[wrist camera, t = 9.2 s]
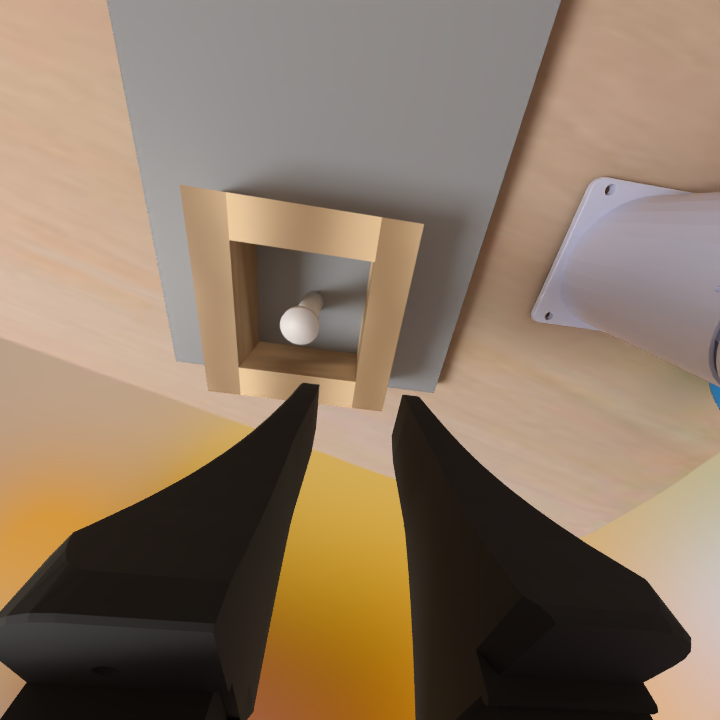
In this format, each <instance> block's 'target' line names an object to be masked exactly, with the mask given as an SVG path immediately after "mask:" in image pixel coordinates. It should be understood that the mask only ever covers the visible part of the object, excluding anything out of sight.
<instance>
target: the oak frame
mask: <svg viewBox="0 0 720 720" xmlns="http://www.w3.org/2000/svg"><path fill="white" fill-rule="evenodd" d="M180 190H181V198H182V205H183V212H184V219H185V227H186V234H187V241H188V248H189V255H190V263H191V270H192V277H193V284H194V292H195V299H196V306H197V313H198V320H199V328H200V335H201V342H202V349H203V357H204V364H205V371H206V378H207V386H208V391H213V392H221V393H230V394H238V395H247V396H255V397H264V398H272V399H281V400H287V399H288V398H289V397H290V396H291V395H292V393H293V392H294V391H295V390H296V389H297V388H298V386H299V385H300V384H302V383H310V384H319V385H320V387H319V398H318V404H324V405H332V406H341V407H349V408H358V409H366V410H375V411H382V409H383V404H384V400H385V396H386V391H387V387H388V382H389V378H390V373H391V369H392V365H393V360H394V356H395V351H396V347H397V342H398V338H399V333H400V329H401V325H402V320H403V316H404V311H405V307H406V302H407V298H408V294H409V289H410V285H411V280H412V276H413V271H414V267H415V263H416V258H417V254H418V249H419V245H420V240H421V236H422V232H423V227H424V224H420V223H414V222H408V221H402V220H396V219H389V218H383V217H377V216H371V215H365V214H359V213H352V212H346V211H340V210H334V209H328V208H321V207H315V206H309V205H303V204H297V203H290V202H284V201H278V200H272V199H266V198H260V197H253V196H247V195H241V194H235V193H229V192H222V191H216V190H210V189H204V188H198V187H191V186H185V185H180ZM257 244H258V245H265V246H271V247H278V248H285V249H291V250H298V251H304V252H311V253H318V254H324V255H331V256H338V257H344V258H351V259H357V260H364V261H371V264H370V270H369V277H368V283H367V290H366V297H365V303H364V310H363V316H362V323H361V329H360V336H359V342H358V349H357V354H354V353H346V352H338V351H331V350H323V349H315V348H308V347H300V346H292V345H284V344H277V343H269V342H261V341H260V334H259V301H258V268H257Z"/></svg>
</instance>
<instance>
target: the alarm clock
mask: <svg viewBox="0 0 720 720" xmlns="http://www.w3.org/2000/svg"><path fill="white" fill-rule="evenodd" d="M709 386H710V390H711V393H712V395H713V398H714V400H715V402H716V404H717V406H718V407H719V409H720V387H718V386H716V385H714V384H712V383H710V382H709Z"/></svg>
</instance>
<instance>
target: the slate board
mask: <svg viewBox="0 0 720 720" xmlns="http://www.w3.org/2000/svg"><path fill="white" fill-rule="evenodd" d="M560 2H561V0H107V4H108V9H109V14H110V19H111V25H112V30H113V35H114V40H115V45H116V51H117V56H118V61H119V66H120V71H121V77H122V82H123V87H124V92H125V97H126V103H127V108H128V113H129V118H130V123H131V129H132V134H133V139H134V144H135V149H136V155H137V160H138V165H139V170H140V175H141V181H142V186H143V191H144V196H145V201H146V207H147V212H148V217H149V222H150V227H151V233H152V238H153V243H154V248H155V253H156V259H157V264H158V269H159V274H160V279H161V285H162V290H163V295H164V300H165V306H166V311H167V316H168V321H169V326H170V332H171V337H172V342H173V347H174V352H175V358H176V361H177V362H186V363H194V364H202V365H205V364H204V357H203V349H202V342H201V335H200V328H199V320H198V313H197V306H196V299H195V292H194V284H193V277H192V270H191V263H190V255H189V248H188V241H187V234H186V227H185V219H184V212H183V205H182V198H181V190H180V185H185V186H191V187H198V188H204V189H210V190H216V191H222V192H229V193H235V194H241V195H247V196H253V197H260V198H266V199H272V200H278V201H284V202H290V203H297V204H303V205H309V206H315V207H321V208H328V209H334V210H340V211H346V212H352V213H359V214H365V215H371V216H377V217H383V218H389V219H396V220H402V221H408V222H414V223H420V224H424V227H423V232H422V236H421V240H420V245H419V249H418V254H417V258H416V263H415V267H414V271H413V276H412V280H411V285H410V289H409V294H408V298H407V302H406V307H405V311H404V316H403V320H402V325H401V329H400V333H399V338H398V342H397V347H396V351H395V356H394V360H393V365H392V369H391V373H390V378H389V382H388V387H389V388H398V389H406V390H414V391H422V392H430V393H434V391H435V388H436V385H437V382H438V379H439V376H440V373H441V370H442V366H443V363H444V360H445V357H446V354H447V351H448V348H449V345H450V342H451V339H452V336H453V332H454V329H455V326H456V323H457V320H458V317H459V314H460V311H461V308H462V305H463V302H464V298H465V295H466V292H467V289H468V286H469V283H470V280H471V277H472V274H473V271H474V268H475V265H476V261H477V258H478V255H479V252H480V249H481V246H482V243H483V240H484V237H485V234H486V231H487V227H488V224H489V221H490V218H491V215H492V212H493V209H494V206H495V203H496V200H497V197H498V193H499V190H500V187H501V184H502V181H503V178H504V175H505V172H506V169H507V166H508V163H509V159H510V156H511V153H512V150H513V147H514V144H515V141H516V138H517V135H518V132H519V129H520V125H521V122H522V119H523V116H524V113H525V110H526V107H527V104H528V101H529V98H530V95H531V92H532V88H533V85H534V82H535V79H536V76H537V73H538V70H539V67H540V64H541V61H542V58H543V54H544V51H545V48H546V45H547V42H548V39H549V36H550V33H551V30H552V27H553V24H554V20H555V17H556V14H557V11H558V8H559V5H560ZM370 264H371V261H364V260H357V259H351V258H344V257H338V256H331V255H324V254H318V253H311V252H304V251H298V250H291V249H285V248H278V247H271V246H265V245H258V244H257V268H258V301H259V334H260V341H261V342H269V343H277V344H284V345H292V346H300V347H308V348H315V349H323V350H331V351H338V352H346V353H354V354H357V349H358V342H359V336H360V329H361V323H362V316H363V310H364V303H365V297H366V290H367V283H368V277H369V270H370Z"/></svg>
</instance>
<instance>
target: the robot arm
mask: <svg viewBox="0 0 720 720" xmlns="http://www.w3.org/2000/svg"><path fill="white" fill-rule="evenodd" d="M608 185H609V187H610V189H609V192H608V193H607V194H605V189H606V187H607V186H608ZM548 312H550V314H549V316H548V317H546V318H545V315H546V314H547V313H548ZM531 318H532V319H533V320H535V321H537V322H542V323H549V324H556V325H563V326H570V327H577V328H584V329H591V330H598V331H604V332H606V333H608V334H610V335H612V336H614V337H616V338H618V339H620V340H622V341H624V342H627V343H629V344H631V345H633V346H635V347H637V348H639V349H641V350H643V351H645V352H647V353H649V354H652V355H654V356H656V357H658V358H660V359H662V360H664V361H666V362H668V363H670V364H672V365H674V366H677V367H679V368H681V369H683V370H685V371H687V372H689V373H691V374H693V375H695V376H697V377H699V378H702V379H704V380H706V381H708V382H710V383H712V384H714V385H716V386H718V387H720V192H708V193H692V192H686V191H681V190H675V189H670V188H664V187H659V186H653V185H647V184H642V183H636V182H631V181H625V180H620V179H614V178H609V177H601V178H597V179H594V180H593V181H592V182H591V183H590V184H589V186H588V187H587V190H586V192H585V194H584V196H583V199H582V201H581V203H580V205H579V207H578V210H577V212H576V214H575V216H574V219H573V221H572V223H571V225H570V227H569V230H568V232H567V234H566V236H565V239H564V241H563V243H562V245H561V247H560V250H559V252H558V254H557V256H556V259H555V261H554V263H553V265H552V268H551V270H550V272H549V274H548V276H547V279H546V281H545V283H544V285H543V288H542V290H541V292H540V294H539V296H538V299H537V301H536V303H535V305H534V308H533V310H532V312H531ZM319 387H320V385H319V384H310V383H302V384H300V385H299V386H298V388H297V389H296V390H295V391H294V392H293V393H292V395H291V396H290V397H289V398H288V399H287V400H286V401H285V402H284V403H283V404H282V405H281V406H280V407H279V408H278V409H277V410H276V411H275V412H274V413H273V414H272V415H271V416H270V417H269V418H267V419H266V420H265V421H264V422H263V423H262V424H261V425H259V426H258V427H257V428H256V429H255V430H254V431H253V432H251V433H250V434H249V435H247V436H246V437H245V438H244V439H242V440H241V441H240V442H238V443H237V444H236V445H234V446H233V447H232V448H230V449H229V450H228V451H226V452H225V453H223V454H222V455H220V456H219V457H217V458H216V459H214V460H213V461H211V462H209V463H208V464H207V465H205V466H203V467H202V468H200V469H199V470H197V471H196V472H194V473H192V474H190V475H189V476H187V477H185V478H183V479H182V480H180V481H178V482H176V483H174V484H172V485H171V486H169V487H167V488H165V489H163V490H161V491H159V492H158V493H156V494H154V495H152V496H150V497H148V498H146V499H144V500H142V501H140V502H138V503H136V504H134V505H132V506H130V507H128V508H125V509H123V510H121V511H119V512H117V513H115V514H113V515H110V516H109V517H106V518H104V519H102V520H100V521H98V522H95V523H93V524H91V525H89V526H87V527H85V528H82V529H80V530H78V531H75V532H73V534H72V535H70V536H69V538H67V539H66V540H65V542H64V543H63V544H62V545H61V546H60V547H59V548H58V549H57V550H56V551H55V552H54V553H53V554H52V555H51V556H50V557H49V558H48V559H47V560H46V561H45V562H44V563H43V564H42V566H41V567H40V568H39V569H38V570H37V571H36V572H35V573H34V574H33V576H32V577H31V578H30V579H29V580H28V581H27V582H26V583H25V585H24V586H23V587H22V588H21V589H20V590H19V591H18V592H17V593H16V595H15V596H14V597H13V598H12V599H11V600H10V601H9V602H8V604H7V605H6V606H5V607H4V608H3V609H2V610H1V611H0V661H1V662H2V663H3V664H5V665H6V666H7V667H9V668H10V669H11V670H12V671H13V672H15V673H16V674H17V675H18V676H20V677H21V678H22V679H23V680H25V681H26V682H27V683H26V684H25V686H24V687H23V688H22V690H21V691H20V693H19V694H18V695H17V697H16V698H15V699H14V701H13V702H12V704H11V705H10V707H9V708H8V709H7V711H6V712H5V714H4V715H3V716H2V718H1V719H0V720H247V719H248V718H249V717H250V715H251V714H252V713H253V711H254V705H255V700H256V695H257V689H258V684H259V678H260V673H261V668H262V663H263V658H264V653H265V647H266V642H267V637H268V632H269V627H270V622H271V617H272V611H273V606H274V601H275V596H276V591H277V586H278V581H279V576H280V571H281V567H282V562H283V556H284V552H285V547H286V542H287V537H288V533H289V528H290V524H291V519H292V516H293V512H294V508H295V505H296V502H297V498H298V495H299V492H300V488H301V485H302V482H303V478H304V475H305V472H306V469H307V465H308V462H309V458H310V455H311V451H312V446H313V441H314V435H315V430H316V421H317V409H318V398H319ZM392 452H393V464H394V470H395V476H396V481H397V487H398V492H399V498H400V503H401V509H402V515H403V520H404V527H405V535H406V547H407V557H408V558H407V559H408V571H409V585H410V600H411V618H412V636H413V656H414V657H413V658H414V684H415V716H416V720H653V719H652V717H651V715H650V714H656V713H658V708H657V705H656V703H655V701H654V700H653V698H652V696H651V695H650V693H649V692H648V690H647V688H646V686H645V685H644V683H643V682H645V681H647V680H649V679H651V678H653V677H654V676H656V675H658V674H660V673H662V672H664V671H665V670H667V669H669V668H671V667H673V666H674V665H676V664H678V663H679V662H680V661H682V660H684V659H685V658H686V657H687V655H688V654H689V653H690V652H691V637H690V636H689V634H688V633H687V632H686V631H685V629H684V628H683V627H682V625H681V624H680V623H679V622H678V620H677V619H676V618H675V617H674V615H673V614H672V613H671V611H670V610H669V609H668V607H667V606H666V605H665V603H664V602H663V601H662V600H661V598H660V597H659V596H658V595H657V593H656V592H655V591H654V589H653V588H652V587H651V586H650V584H649V583H648V582H647V581H646V580H645V579H644V578H642V577H641V576H639V575H637V574H636V573H634V572H632V571H631V570H629V569H627V568H625V567H624V566H623V565H621V564H619V563H618V562H616V561H614V560H613V559H611V558H609V557H608V556H606V555H604V554H603V553H601V552H599V551H598V550H596V549H595V548H593V547H591V546H589V545H588V544H586V543H585V542H583V541H582V540H580V539H579V538H577V537H576V536H574V535H573V534H571V533H570V532H568V531H567V530H565V529H564V528H562V527H561V526H559V525H558V524H556V523H555V522H554V521H552V520H551V519H549V518H548V517H546V516H545V515H544V514H542V513H541V512H539V511H538V510H537V509H535V508H534V507H533V506H531V505H530V504H529V503H527V502H526V501H525V500H523V499H522V498H521V497H520V496H518V495H517V494H516V493H514V492H513V491H512V490H511V489H509V488H508V487H507V486H506V485H504V484H503V483H502V482H501V481H500V480H498V479H497V478H496V477H495V476H494V475H493V474H492V473H490V472H489V471H488V470H487V469H486V468H485V467H484V466H482V465H481V464H480V463H479V462H478V461H477V460H476V459H475V458H474V457H473V456H472V455H471V454H470V453H469V452H468V451H467V450H466V449H465V448H464V447H463V446H462V445H461V444H460V443H459V442H458V441H457V440H456V439H455V438H454V437H453V436H452V435H451V433H450V432H449V431H448V430H447V429H446V428H445V427H444V426H443V424H442V423H441V422H440V421H439V420H438V419H437V417H436V416H435V415H434V414H433V413H432V412H431V410H430V409H429V408H428V407H427V406H426V404H425V403H424V402H423V401H422V400H421V399H420V398H419V397H417V396H409V395H402V399H401V403H400V406H399V410H398V414H397V418H396V422H395V426H394V430H393V433H392Z"/></svg>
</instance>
